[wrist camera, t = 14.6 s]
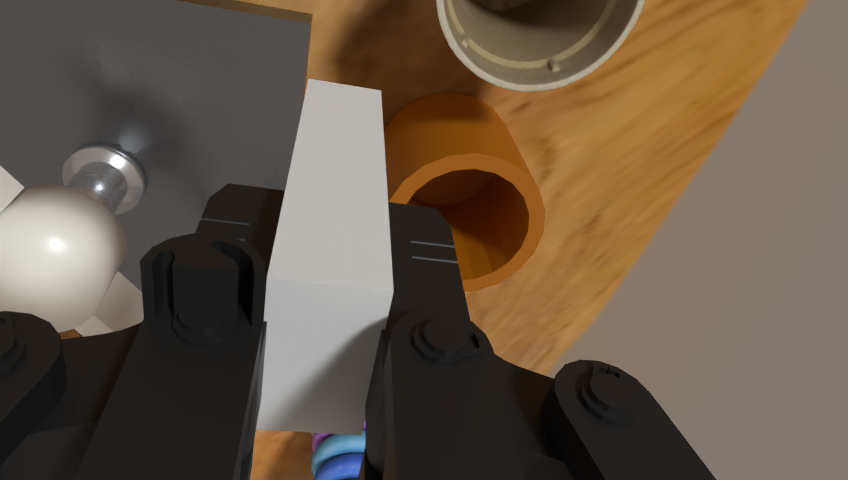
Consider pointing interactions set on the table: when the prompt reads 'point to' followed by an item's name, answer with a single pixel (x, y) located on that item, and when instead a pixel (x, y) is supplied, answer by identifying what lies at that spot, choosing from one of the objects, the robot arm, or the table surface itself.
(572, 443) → the robot arm
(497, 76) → the flower pot
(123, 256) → the white lever
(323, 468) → the stacking toy
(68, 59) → the base plate
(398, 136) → the mug
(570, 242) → the table surface
